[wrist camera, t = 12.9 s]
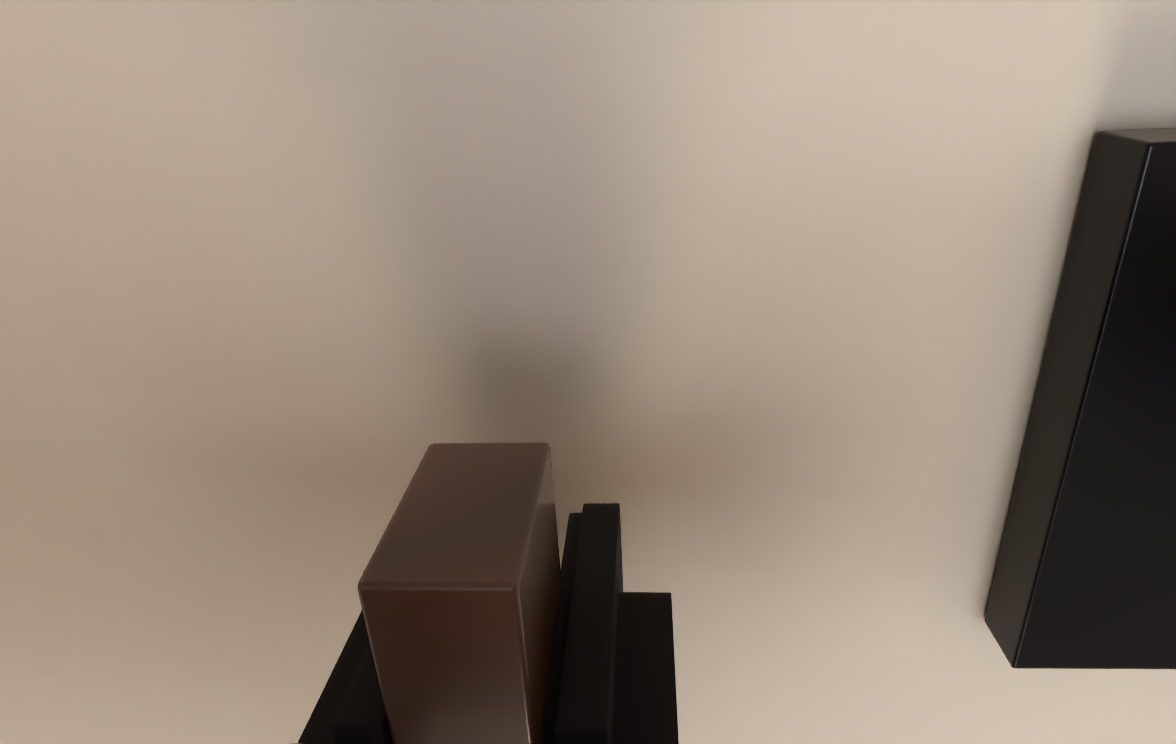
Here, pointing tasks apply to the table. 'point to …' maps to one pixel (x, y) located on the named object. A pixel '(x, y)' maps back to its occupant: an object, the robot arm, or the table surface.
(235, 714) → the table surface
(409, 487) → the hanger
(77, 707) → the table surface
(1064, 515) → the coat stand
